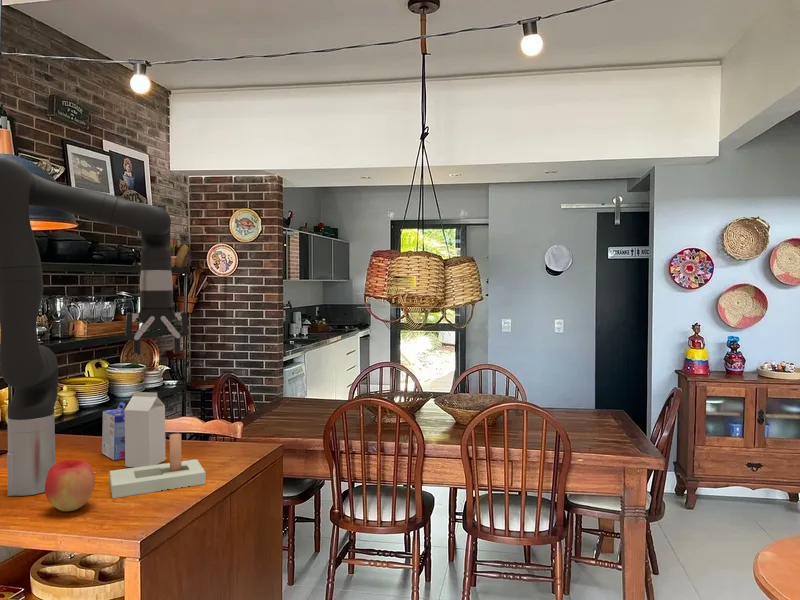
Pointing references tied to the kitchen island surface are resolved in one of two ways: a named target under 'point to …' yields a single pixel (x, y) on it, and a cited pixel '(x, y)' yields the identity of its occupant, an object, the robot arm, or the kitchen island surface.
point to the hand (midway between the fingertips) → (157, 354)
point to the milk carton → (144, 430)
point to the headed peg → (175, 452)
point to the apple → (69, 484)
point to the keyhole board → (155, 478)
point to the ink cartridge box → (114, 433)
